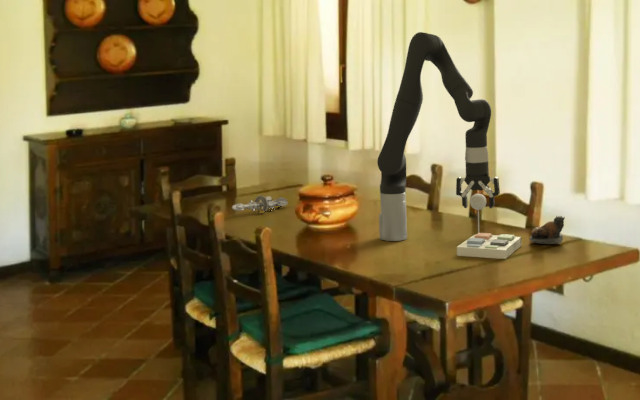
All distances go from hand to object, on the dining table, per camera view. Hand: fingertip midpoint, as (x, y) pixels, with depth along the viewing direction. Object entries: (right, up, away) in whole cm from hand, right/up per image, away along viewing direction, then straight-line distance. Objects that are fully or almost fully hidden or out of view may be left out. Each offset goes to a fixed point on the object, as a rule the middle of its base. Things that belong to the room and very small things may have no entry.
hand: (478, 207), depth 302 cm
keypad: (+4, -14, +2) cm, 15 cm away
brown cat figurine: (+25, -13, +7) cm, 29 cm away
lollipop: (+5, -10, +26) cm, 29 cm away
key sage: (+10, -12, +4) cm, 16 cm away
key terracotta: (+3, -12, +8) cm, 15 cm away
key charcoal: (+7, -13, -2) cm, 15 cm away
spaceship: (-79, -4, +85) cm, 116 cm away
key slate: (-1, -13, +1) cm, 13 cm away
